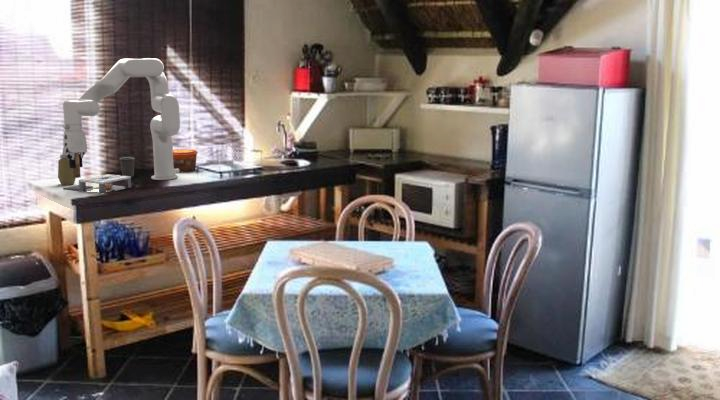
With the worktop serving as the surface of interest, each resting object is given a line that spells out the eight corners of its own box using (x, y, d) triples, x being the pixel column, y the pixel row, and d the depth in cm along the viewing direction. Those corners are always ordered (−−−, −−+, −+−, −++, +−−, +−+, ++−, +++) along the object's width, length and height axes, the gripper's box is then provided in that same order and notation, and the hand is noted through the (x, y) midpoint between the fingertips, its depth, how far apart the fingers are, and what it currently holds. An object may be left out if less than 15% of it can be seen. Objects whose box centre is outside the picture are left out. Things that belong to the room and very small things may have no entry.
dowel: (82, 177, 326) (80, 149, 323) (76, 178, 323) (74, 149, 320) (76, 176, 327) (75, 148, 325) (71, 177, 324) (69, 149, 321)
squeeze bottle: (79, 184, 336) (76, 147, 333) (62, 186, 331) (59, 148, 327) (72, 182, 342) (69, 145, 339) (55, 184, 337) (52, 146, 333)
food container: (183, 173, 370) (182, 153, 367) (161, 171, 377) (160, 151, 375) (204, 169, 383) (203, 150, 381) (182, 167, 391) (182, 148, 389)
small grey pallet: (108, 185, 335) (107, 174, 334) (131, 187, 329) (130, 176, 328) (79, 191, 319) (78, 179, 318) (102, 193, 313) (102, 182, 312)
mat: (78, 186, 332) (78, 184, 332) (92, 187, 328) (92, 186, 328) (63, 189, 324) (63, 187, 324) (77, 190, 320) (77, 189, 320)
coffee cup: (125, 178, 355) (124, 158, 353) (116, 176, 360) (115, 157, 358) (139, 176, 361) (138, 156, 359) (130, 174, 366) (129, 155, 364)
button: (105, 187, 327) (105, 183, 326) (112, 188, 325) (112, 184, 325) (99, 189, 323) (99, 184, 323) (105, 189, 322) (105, 185, 321)
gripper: (65, 129, 311) (68, 170, 315) (93, 126, 326) (95, 165, 330) (53, 128, 315) (55, 169, 318) (81, 126, 329) (83, 164, 333)
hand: (76, 167), depth 324 cm, fingers closed on dowel, 3 cm apart
